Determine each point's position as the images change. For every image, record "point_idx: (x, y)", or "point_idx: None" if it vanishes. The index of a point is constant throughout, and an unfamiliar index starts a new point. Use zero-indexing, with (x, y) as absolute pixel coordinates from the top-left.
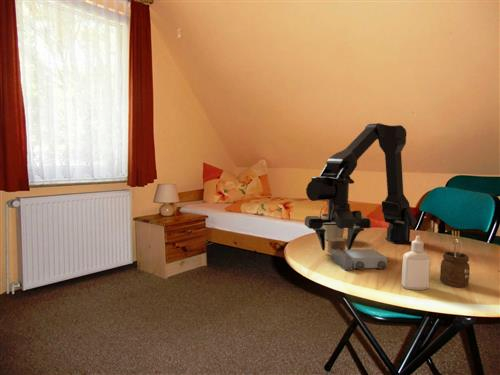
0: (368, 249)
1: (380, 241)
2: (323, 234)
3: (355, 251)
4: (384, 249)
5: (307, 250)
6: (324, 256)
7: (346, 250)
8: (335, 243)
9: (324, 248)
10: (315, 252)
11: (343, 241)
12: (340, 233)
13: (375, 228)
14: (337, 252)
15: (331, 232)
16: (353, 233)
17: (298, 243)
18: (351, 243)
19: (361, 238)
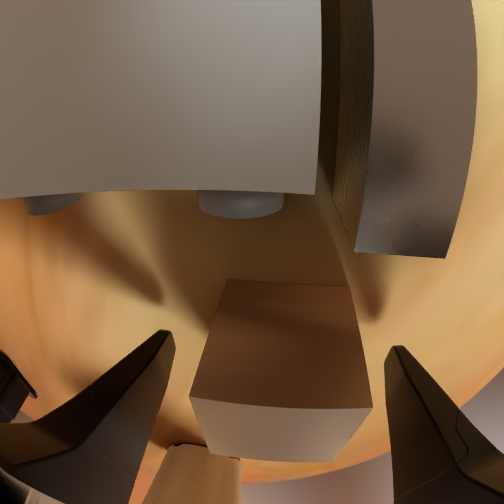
0: (5, 185)
1: (45, 390)
2: (471, 466)
3: (144, 66)
4: (16, 323)
5: None
6: (417, 276)
7: (279, 126)
8: (329, 382)
9: (402, 356)
10: (413, 356)
11: (217, 395)
12: (174, 471)
13: None
14: (470, 59)
15: (216, 484)
16: (66, 447)
17: (385, 443)
18: (128, 367)
19: None
